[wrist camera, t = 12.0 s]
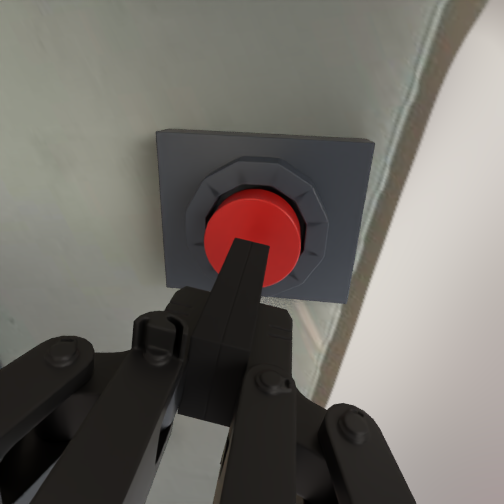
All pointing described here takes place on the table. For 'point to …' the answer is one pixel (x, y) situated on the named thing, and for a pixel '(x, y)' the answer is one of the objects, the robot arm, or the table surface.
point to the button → (255, 230)
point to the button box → (274, 180)
